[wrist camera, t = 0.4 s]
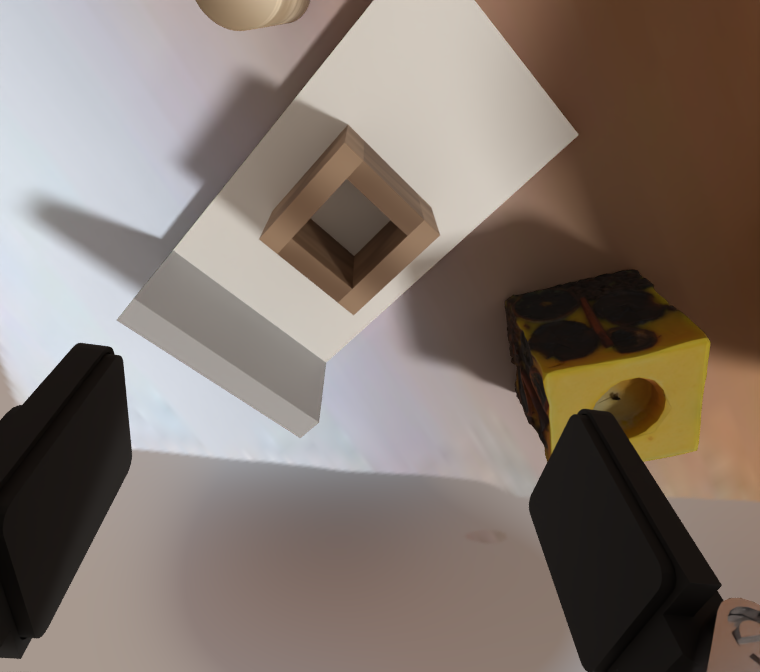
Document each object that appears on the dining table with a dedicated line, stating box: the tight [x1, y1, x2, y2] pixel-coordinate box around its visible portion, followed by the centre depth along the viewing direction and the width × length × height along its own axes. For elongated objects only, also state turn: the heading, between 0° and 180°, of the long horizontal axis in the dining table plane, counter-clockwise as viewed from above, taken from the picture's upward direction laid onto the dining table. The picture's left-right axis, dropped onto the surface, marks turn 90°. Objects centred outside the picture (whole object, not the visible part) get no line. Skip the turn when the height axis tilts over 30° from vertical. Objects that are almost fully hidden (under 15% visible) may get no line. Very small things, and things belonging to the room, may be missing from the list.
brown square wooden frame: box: [259, 125, 440, 315], centre depth 32 cm, size 8×8×5 cm
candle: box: [505, 270, 711, 462], centre depth 37 cm, size 10×10×10 cm
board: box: [117, 0, 579, 438], centre depth 31 cm, size 26×14×8 cm, turn 136°
